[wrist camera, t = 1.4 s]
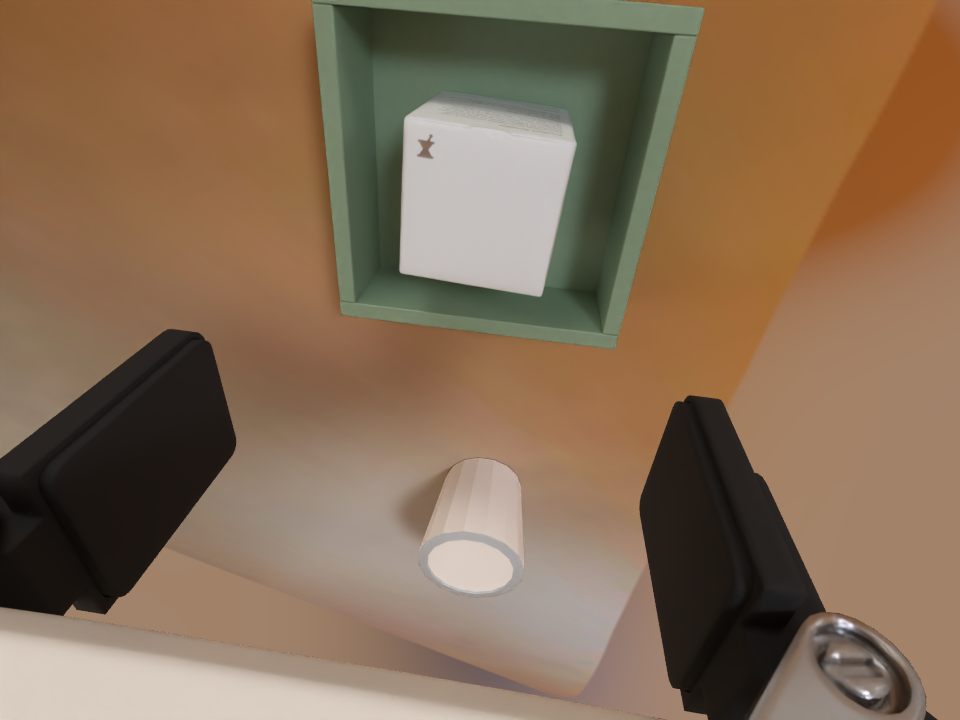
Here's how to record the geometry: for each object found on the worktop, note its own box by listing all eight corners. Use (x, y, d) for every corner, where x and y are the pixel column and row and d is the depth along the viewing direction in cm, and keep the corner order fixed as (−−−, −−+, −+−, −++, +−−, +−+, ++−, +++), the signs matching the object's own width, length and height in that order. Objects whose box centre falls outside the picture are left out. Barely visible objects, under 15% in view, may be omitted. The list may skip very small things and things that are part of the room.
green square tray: (355, -17, 22) (308, -26, 18) (676, 9, 21) (705, 7, 17) (370, 274, 29) (340, 315, 25) (606, 302, 29) (615, 350, 24)
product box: (430, 217, 27) (393, 274, 21) (440, 86, 23) (399, 110, 17) (546, 236, 26) (543, 301, 20) (573, 108, 23) (579, 140, 17)
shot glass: (544, 503, 38) (542, 588, 33) (466, 523, 41) (451, 606, 35) (502, 440, 35) (492, 522, 30) (421, 466, 38) (396, 547, 32)
